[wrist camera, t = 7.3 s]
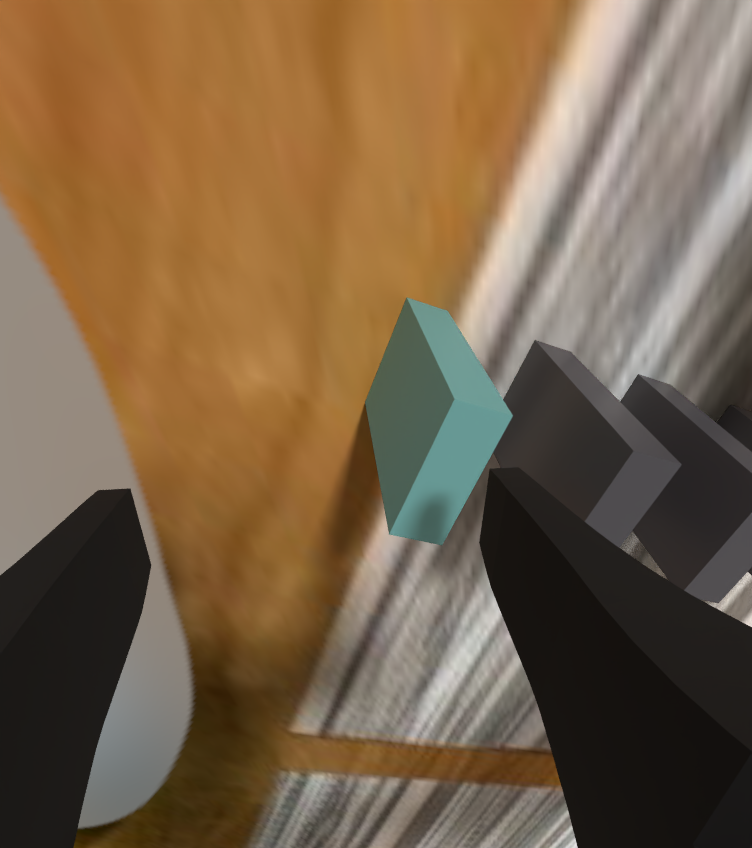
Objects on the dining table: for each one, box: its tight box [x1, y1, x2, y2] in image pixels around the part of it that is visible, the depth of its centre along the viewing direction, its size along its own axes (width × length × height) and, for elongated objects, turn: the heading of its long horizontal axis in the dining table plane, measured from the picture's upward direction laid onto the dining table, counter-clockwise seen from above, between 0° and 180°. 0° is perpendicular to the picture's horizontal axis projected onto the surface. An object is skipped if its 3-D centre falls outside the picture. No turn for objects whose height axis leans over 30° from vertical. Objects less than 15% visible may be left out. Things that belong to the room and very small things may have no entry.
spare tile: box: [365, 298, 513, 545], centre depth 18 cm, size 2×4×8 cm, turn 161°
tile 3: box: [621, 374, 752, 603], centre depth 20 cm, size 2×4×8 cm, turn 160°
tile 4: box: [493, 340, 682, 547], centre depth 19 cm, size 2×4×8 cm, turn 160°
